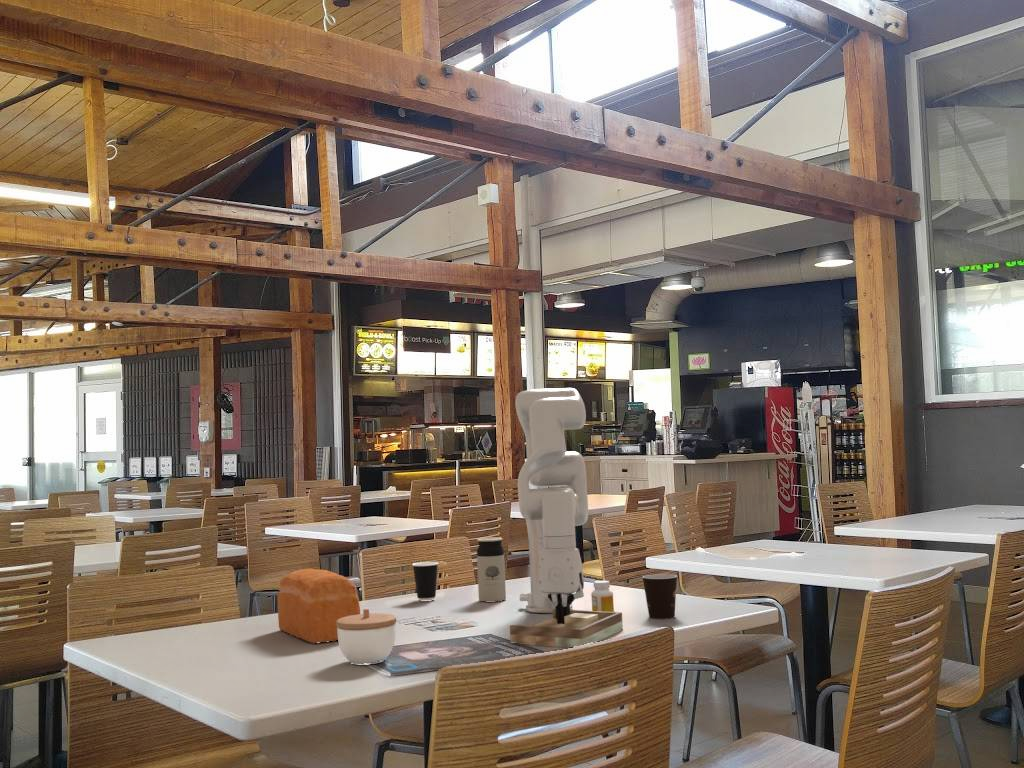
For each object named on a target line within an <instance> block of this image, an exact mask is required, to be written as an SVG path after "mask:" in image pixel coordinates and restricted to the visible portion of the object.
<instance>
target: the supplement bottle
mask: <svg viewBox="0 0 1024 768" xmlns="http://www.w3.org/2000/svg"><path fill="white" fill-rule="evenodd" d="M610 584H611V583H610V580H596V581H593V588H594V590H592V591H591V611H603V612H615V610H614V607H615V606H614V593H613V591H612V590H611V589H610V587H611V586H610Z"/></svg>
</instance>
